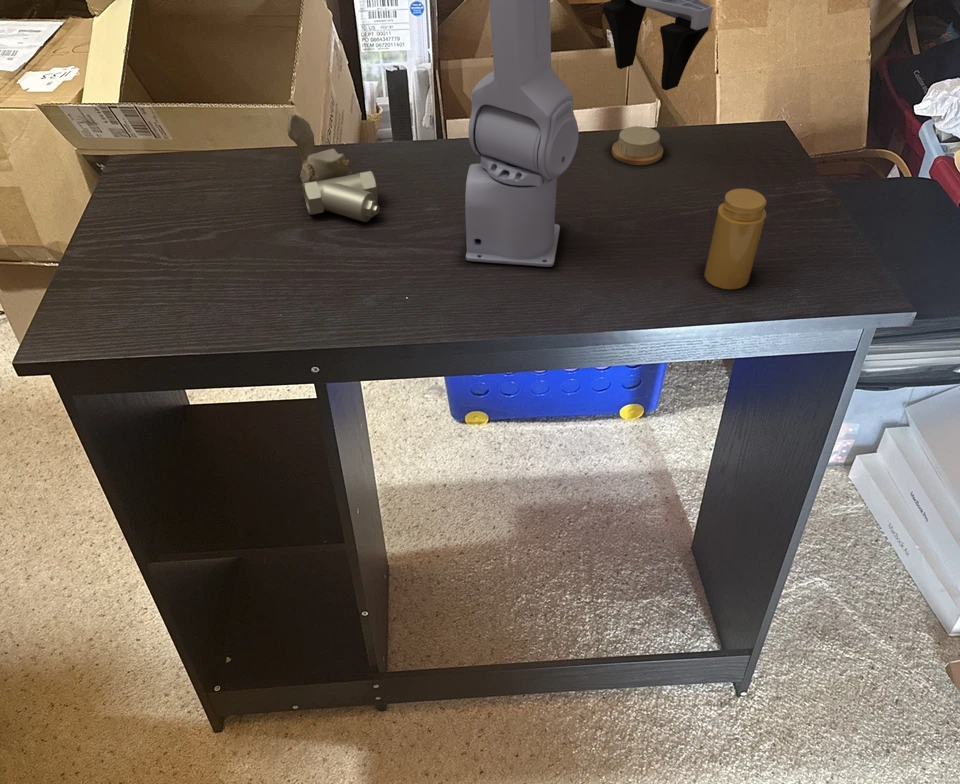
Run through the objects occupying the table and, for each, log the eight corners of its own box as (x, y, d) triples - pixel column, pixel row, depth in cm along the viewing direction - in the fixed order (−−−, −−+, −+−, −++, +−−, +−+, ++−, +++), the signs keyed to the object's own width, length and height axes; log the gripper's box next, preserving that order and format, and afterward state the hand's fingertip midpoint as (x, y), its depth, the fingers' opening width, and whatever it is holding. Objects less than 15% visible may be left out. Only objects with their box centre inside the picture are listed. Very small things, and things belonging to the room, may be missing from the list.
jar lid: (666, 150, 104) (668, 137, 103) (636, 162, 102) (637, 148, 101) (639, 135, 107) (641, 122, 106) (609, 146, 105) (610, 133, 104)
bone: (360, 191, 97) (303, 118, 91) (317, 220, 99) (258, 151, 93) (362, 161, 103) (308, 91, 97) (321, 189, 105) (266, 122, 99)
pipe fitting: (386, 225, 95) (371, 193, 99) (384, 195, 92) (368, 163, 96) (318, 239, 94) (305, 205, 98) (313, 208, 91) (300, 175, 95)
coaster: (610, 163, 103) (610, 159, 103) (612, 140, 108) (613, 135, 107) (662, 166, 103) (663, 162, 102) (662, 142, 107) (663, 138, 106)
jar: (705, 288, 86) (722, 209, 79) (703, 263, 89) (719, 185, 82) (751, 290, 85) (772, 211, 78) (747, 265, 88) (767, 187, 82)
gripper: (741, -47, 86) (716, 88, 96) (643, -78, 94) (629, 49, 104) (693, -33, 83) (672, 104, 93) (596, -66, 91) (586, 63, 101)
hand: (646, 76), depth 98 cm, fingers open, 7 cm apart
